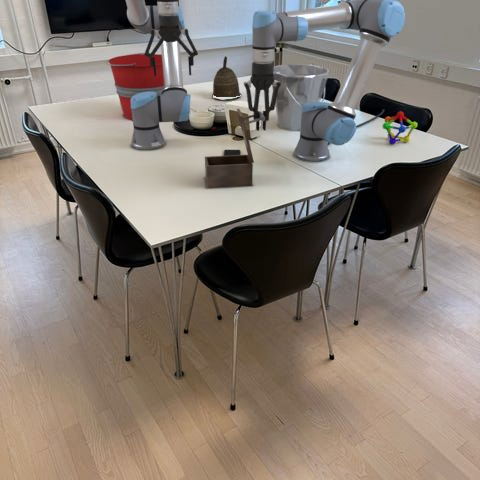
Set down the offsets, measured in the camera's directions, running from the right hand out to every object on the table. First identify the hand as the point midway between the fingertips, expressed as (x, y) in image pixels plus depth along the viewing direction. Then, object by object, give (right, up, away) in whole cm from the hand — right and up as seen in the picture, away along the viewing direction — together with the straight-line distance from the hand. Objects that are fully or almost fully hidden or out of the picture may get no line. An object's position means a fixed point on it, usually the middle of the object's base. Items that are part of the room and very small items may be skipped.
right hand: (260, 129), depth 163 cm
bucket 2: (+22, +20, +70) cm, 76 cm away
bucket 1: (-61, +30, +86) cm, 110 cm away
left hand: (-34, +24, +11) cm, 43 cm away
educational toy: (+67, +5, +47) cm, 82 cm away
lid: (-6, -2, 0) cm, 7 cm away
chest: (-12, -18, +9) cm, 24 cm away
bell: (-16, +50, +118) cm, 129 cm away
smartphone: (-11, -5, +31) cm, 33 cm away
